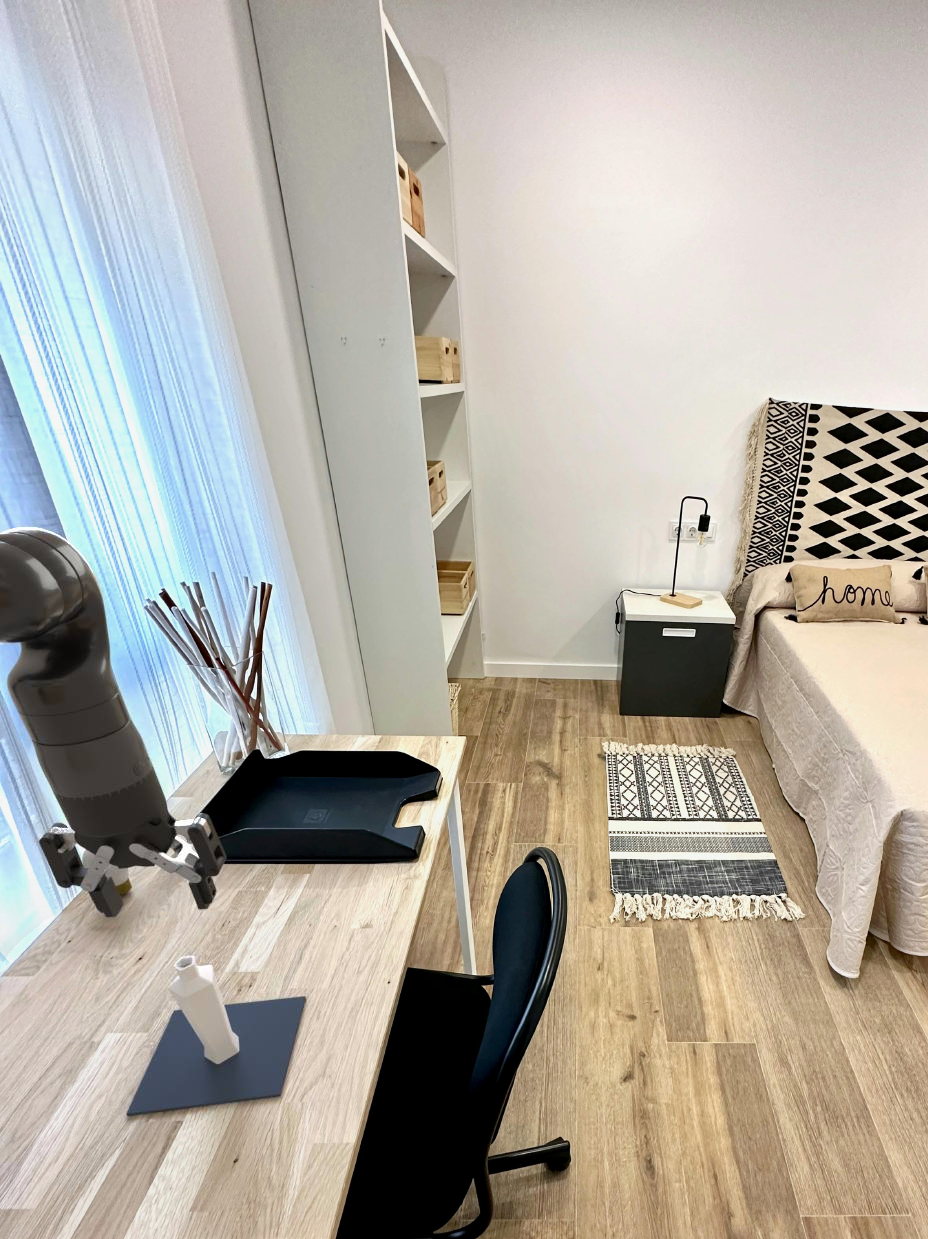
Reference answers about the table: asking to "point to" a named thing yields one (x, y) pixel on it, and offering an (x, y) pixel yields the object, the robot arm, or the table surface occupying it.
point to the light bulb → (111, 873)
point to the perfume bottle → (204, 1008)
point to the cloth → (247, 1075)
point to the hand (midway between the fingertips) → (161, 907)
